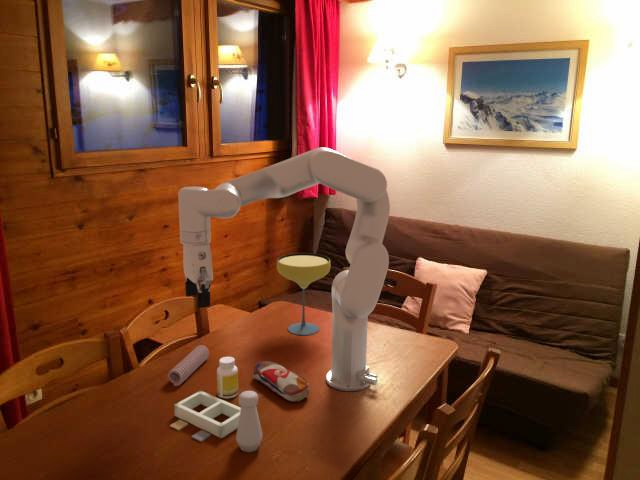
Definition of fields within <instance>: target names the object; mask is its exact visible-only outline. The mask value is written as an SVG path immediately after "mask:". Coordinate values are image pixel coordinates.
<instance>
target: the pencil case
mask: <svg viewBox="0 0 640 480" xmlns="http://www.w3.org/2000/svg"><path fill="white" fill-rule="evenodd" d="M252 377H253V378H254V379H255V380H257V381H259V382H260V383H262V384H263V385H265V387H267V388H268V389H270V390H271V391H273V392H274V393H275V394H277V395H278V396H280V397H281V398H282V399H284V400H285V401H288V402H291V403H292V402H293V403H297V402H300V401H302V400H304V399H305V398H306V397H308V395H309V393H310V387H309V386H310V385H309V382H308V380H306V379H305V378H304V377H302V376H301V375H298V374H296V373H295V372H293V371H292V370H290V369H288V368H286V367H285V366H284V365H281V364H278V363H277V362H275V361H269V360H265V361H260V362H258V363H257V364H255V366H254V367H253V374H252Z"/></svg>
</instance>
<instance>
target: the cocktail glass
mask: <svg viewBox="0 0 640 480" xmlns="http://www.w3.org/2000/svg"><path fill="white" fill-rule="evenodd" d="M331 268H332V266H331V259H330V258H329V257H328V256H326V255H323V254H319V253H309V252H300V253H299V252H297V253H296V252H295V253H290V254H285V255H281V256H279V257H278V258H277V261H276V269H277V272H278V273H279V274H280V276H282V277H283V278H285V279H287V280H289V281H292V282H295V283H296V284H297V285H298V286H299V288H301V289H302V317H301V318H302V319H301V322H297V323H293V324H290V325H289V326H288V327H287V330H288V332H289V333H291V334H293V335H296V336H310V335H311V336H312V335H315V334H317V333H318V332H319V330H320V327H319V326H318V325H317V324H315V323H312V322H306V315H305V307H306V306H305V305H306V304H305V295H306V294H305V289H307V288H308V287H309V285H310V284H311V283H314V282H315V281H318V280H320V279H323V278H324V277H325V276H327V275H328V274H329V272H330V271H331Z"/></svg>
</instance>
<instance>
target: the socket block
mask: <svg viewBox="0 0 640 480" xmlns="http://www.w3.org/2000/svg"><path fill="white" fill-rule="evenodd" d="M200 405H202V406H205V407H206V408H204V409H203V410H201V411H200V412H198V411H196V410H194V408H196V407H198V406H200ZM173 407H174V416H175V417H176V418H179V420H182V421H184V422H186V423H188V424H189V423H190V424H191V425H193V426H195V427H197V428H199V429H201V430H203V431H205V432H207V433H209V434H211V435H214V436H216V437H218V438H220V439H223V438H225V437H226V436H228V435H229V434H230V433H231V434H232V432H234V431H235V430H237V429H238V423H239V417H240V411H241V406H237V405H236V404H233V403H230V402H228V401H226V400H224V399H221V398H220V397H216V396H214V395H212V394H210V393H208V392H205V391H202V390H199V391H197V392H196V393H193V394H192V395H190V396H188V397H186V398H184V399H182V400H180V401H178V402H177V403H175V404H174V406H173ZM220 415H225V416H227V417H229V418H227V419H225V420H224V421H223V422H219V421H218V420H215V418H217V417H218V416H220Z"/></svg>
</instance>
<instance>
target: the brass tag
mask: <svg viewBox="0 0 640 480" xmlns="http://www.w3.org/2000/svg"><path fill="white" fill-rule="evenodd" d="M188 426H189V422H187V421H185V420H182V419H178V420H177V421H175V422H173V423H171V424H170V425H169V427H170V428H171V429H173V430H176V431H178V432H179V431H181V430H183V429H185V428H186V427H188Z"/></svg>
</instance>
